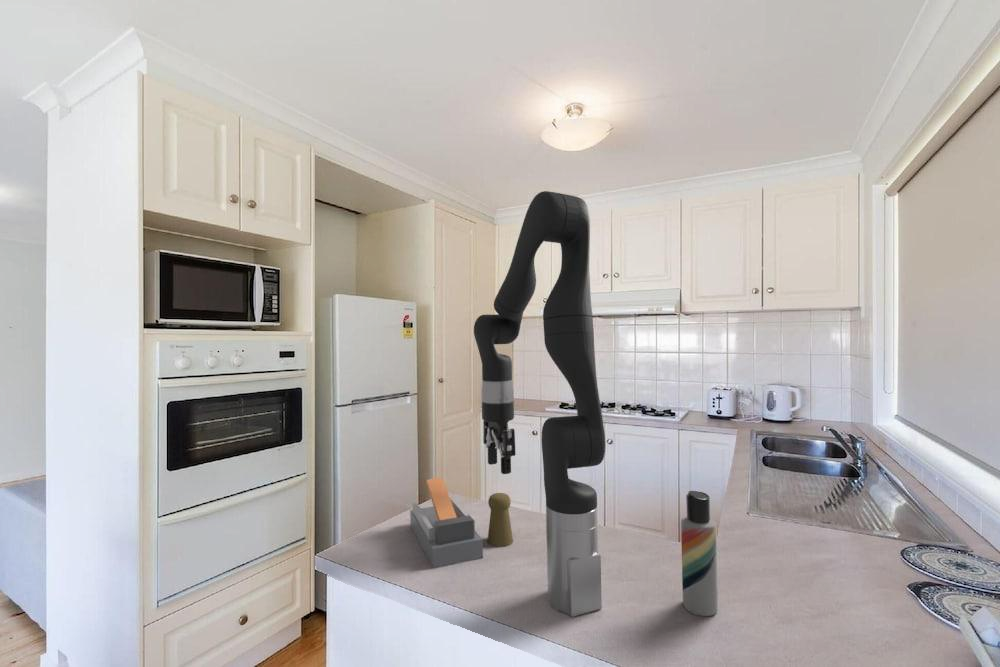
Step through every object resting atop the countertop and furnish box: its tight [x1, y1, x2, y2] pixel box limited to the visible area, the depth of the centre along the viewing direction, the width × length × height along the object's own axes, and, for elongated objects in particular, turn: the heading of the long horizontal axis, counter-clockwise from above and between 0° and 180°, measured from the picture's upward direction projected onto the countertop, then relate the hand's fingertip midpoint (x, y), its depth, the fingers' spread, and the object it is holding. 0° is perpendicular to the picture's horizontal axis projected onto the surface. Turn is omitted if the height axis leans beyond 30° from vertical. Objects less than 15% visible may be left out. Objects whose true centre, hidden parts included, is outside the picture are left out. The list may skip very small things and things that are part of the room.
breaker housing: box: [409, 496, 484, 569], centre depth 111 cm, size 24×11×8 cm, turn 22°
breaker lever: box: [426, 477, 457, 521], centre depth 112 cm, size 17×4×1 cm, turn 23°
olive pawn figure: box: [487, 492, 514, 548], centre depth 110 cm, size 6×6×11 cm
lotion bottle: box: [680, 490, 719, 617], centre depth 82 cm, size 6×6×20 cm
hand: (499, 468), depth 110 cm, fingers open, 8 cm apart
